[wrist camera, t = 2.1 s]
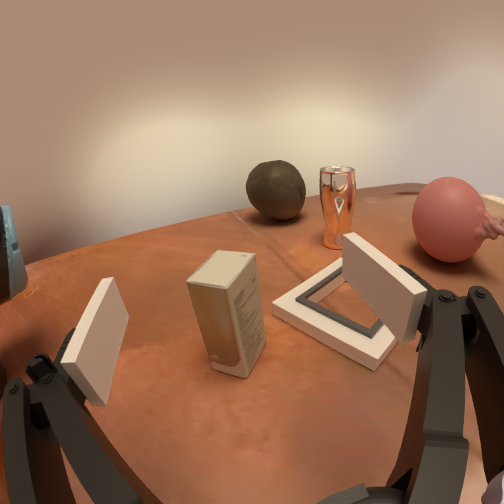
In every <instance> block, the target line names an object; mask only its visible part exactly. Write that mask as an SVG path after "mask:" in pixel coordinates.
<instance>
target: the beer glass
mask: <svg viewBox="0 0 504 504" xmlns="http://www.w3.org/2000/svg"><path fill="white" fill-rule="evenodd" d="M320 200H321V206H322V211H323V216H324V221H325V233H324V238H323V244H324V245H325V246H326V247H328V248H331V249H337V250H340V249H343V234H348V233H351V224H352V218H353V213H354V207H355V200H356V182H355V169H353V168H351V167H343V166H330V167H323V168H320Z"/></svg>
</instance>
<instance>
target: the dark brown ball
mask: <svg viewBox="0 0 504 504" xmlns="http://www.w3.org/2000/svg"><path fill="white" fill-rule="evenodd" d="M246 191H247V195H248V198H249V200H250V202H251V203H252V205H253V206H254V207H255V208H256V209H257V210H258V211H259V212H261V213H262V214H264V215H265V216H267V217H270V218H273V219H278V220H287V219H290V218H292V217H294V216H295V215H297V214H298V213H299V212H300V211H301V209H302V207H303V204H304V201H305V195H306V188H305V184H304V181H303V179H302V177H301V175H300V173H299V172H298V170H297V169H296V168H295V167H294V166H293V165H291V164H290V163H288V162H285V161H282V160H277V161H270V162H264V163H261V164H259V165H257V166H256V167H255V168H254V169H253V170H252V171H251V172H250V174H249V176H248V180H247V182H246Z"/></svg>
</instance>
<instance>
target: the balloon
mask: <svg viewBox="0 0 504 504" xmlns="http://www.w3.org/2000/svg"><path fill="white" fill-rule="evenodd" d="M412 222H413V228H414V232H415V235H416V238H417V240H418V242H419V243H420V245H421V246H422V248H423V249H424V250H425V251H426V252H427V253H428V254H429V255H431V256H432V257H434V258H435V259H437V260H440V261H443V262H449V263H454V262H460V261H463V260H465V259H467V258H469V257H471V256H472V255H473V254H474V253H475V252H476V251H477V250H478V249H479V248H480V246H481V244H482V243H483V241H484V240H485V239H487V238H490V239H492V240H495V239H497V237H498V236H499V235H502V236H504V227H503V225H502V219H501V218H500V217H492V216H491V215H490V214H489V212H488V211H487V210H486V208H485V205H484V202H483V200H482V198H481V197H480V195H479V194H478V192H477V191H476V190H475V189H474V188H473V187H472V186H471V185H470V184H468V183H466V182H465V181H463V180H461V179H458V178H453V177H443V178H439V179H436V180H434V181H432V182H430V183H429V184H427V185H426V186H425V187H424V188H423V189H422V190H421V192H420V193H419V195H418V197H417V199H416V201H415V204H414V208H413V214H412Z"/></svg>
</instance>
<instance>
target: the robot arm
mask: <svg viewBox="0 0 504 504" xmlns="http://www.w3.org/2000/svg"><path fill="white" fill-rule="evenodd" d="M342 277H343V278H344V279H345V280H346V281H347V282H348V283H349V285H350V286H351V287H352V288H353V289H354V290H355V291H356V292H357V293H358V295H359V296H360V297H361V298H362V299H363V300H364V301H365V303H366V304H367V305H368V306H369V307H370V308H371V309H372V311H373V312H374V313H375V314H376V315H377V316H378V318H379V319H380V320H381V321H382V322H383V323H384V325H385V326H386V327H387V328H388V329H389V330H390V332H391V333H392V334H393V335H394V336H395V338H396V339H397V340H398V341H399V342H400V344H401V345H402V344H405V343H407V342H409V341H412V340H414V338H415V335H416V331H417V330H418V331H419V332H420V333H421V334H422V335H421V338H420V341H419V344H418V347H417V350H416V352H418V351H419V353H418V362H417V370H416V377H415V384H414V390H413V395H412V401H411V406H410V411H409V416H408V420H407V425H406V429H405V433H404V437H403V441H402V445H401V448H400V452H399V455H398V459H397V462H396V465H395V467H394V469H393V471H392V473H391V475H390V477H389V479H388V481H387V483H386V486H385V487H368V488H365V486H364V484H360V485H358V486H355V487H353V488H350V489H347V490H345V491H342V492H339V493H336V494H333V495H331V496H329V497H327V498H325V499H324V500H322V501H320V502H318V503H317V504H459V500H460V496H461V491H462V487H463V482H464V477H465V471H466V465H467V459H468V451H469V442H468V439H465V438H463V424H464V409H465V372H466V376H467V379H468V383H469V387H470V391H471V395H472V399H473V404H474V408H475V413H476V418H477V424H478V429H479V435H480V442H481V450H482V458H483V465H484V472H485V476H486V480H487V483H488V486H487V489H486V492H485V493H484V494H483V495H482V497H481V502H482V504H504V315H503V313H502V311H501V310H500V308H499V306H498V304H497V303H496V301H495V300H494V298H493V296H492V295H491V293H490V292H489V291H488V290H487V289H485V288H484V287H482V286H472V287H471V288H469V291H468V295H467V296H463V297H457V296H456V295H455V294H454V293H453V292H451V291H448V290H436V289H434V288H433V287H432V286H431V285H429V284H428V283H427V282H426V281H425V280H423V279H422V278H420V276H418V275H417V274H415V273H414V272H413V271H412V270H411V269H409V268H407V267H405V266H402V265H396V264H395V263H394V262H393V261H391V260H390V259H389V258H388V257H386V256H385V255H384V254H382V253H381V252H380V251H378V250H377V249H376V248H375V247H373V246H372V245H371V244H369V243H368V242H367V241H365V240H364V239H362V238H361V237H360V236H358V235H357V234H356V233H348V234H343V254H342ZM27 284H28V276H27V272H26V269H25V266H24V262H23V259H22V255H21V251H20V248H19V243H18V239H17V235H16V230H15V226H14V221H13V217H12V211H11V207H10V206H9V205H5V206H3V205H2V206H0V305H2V304H3V303H5V302H7V301H10V300H11V299H12V298H13V297H14V296H16V295H17V294H19V293H20V292H22V291H23V290H24V289H25V288H26V287H27ZM128 319H129V315H128V312H127V310H126V308H125V305H124V303H123V300H122V298H121V295H120V293H119V290H118V288H117V285H116V282H115V280H114V277H111V278H105V279H102V280H101V282H100V284H99V285H98V287H97V289H96V291H95V293H94V294H93V296H92V298H91V300H90V302H89V304H88V306H87V308H86V309H85V311H84V313H83V315H82V317H81V319H80V321H79V323H78V325H77V327H76V328H73V329H72V330H71V331H70V332H69V333H68V334H67V335H66V337H65V339H64V341H63V344H62V346H61V348H60V350H59V352H58V354H57V356H56V358H55V361H54V363H52V361H51V360H50V358H49V357H48V355H47V354H45V353H39V354H36V355H34V356H33V357H32V358H30V359H29V361H28V362H27V364H26V366H25V371H26V373H27V374H28V375H29V377H30V378H31V379H32V381H33V382H34V383H32V384H29V385H25V383H24V382H23V381H22V380H21V379H20V378H14V379H12V380H10V381H9V382H8V383H7V384H6V386H5V382H6V372H5V368H4V366H3V365H2V363H1V362H0V397H1V395H2V393H3V411H2V436H3V455H4V466H5V475H6V482H7V489H8V494H9V500H10V504H76V502H75V499H74V496H73V493H72V490H71V487H70V483H69V480H68V477H67V473H66V469H65V466H64V462H63V458H62V454H61V449H60V446H61V448H62V450H63V452H64V454H65V456H66V457H67V459H68V461H69V463H70V465H71V467H72V468H73V470H74V472H75V474H76V475H77V477H78V479H79V480H80V482H81V484H82V485H83V487H84V489H85V490H86V492H87V493H88V495H89V496H90V498H91V499H92V501H93V502H94V504H163V503H162V502H161V501H160V500H159V499H158V498H157V497H156V496H155V495H154V494H153V493H152V492H151V491H150V490H149V489H148V488H147V487H146V486H145V484H144V483H143V482H142V481H141V480H140V479H139V478H138V477H137V475H136V474H135V473H134V472H133V471H132V470H131V468H130V467H129V466H128V465H127V463H126V462H125V461H124V460H123V458H122V457H121V456H120V455H119V453H118V452H117V451H116V449H115V448H114V447H113V445H112V444H111V443H110V441H109V440H108V439H107V437H106V436H105V434H104V433H103V431H102V430H101V428H100V427H99V425H98V424H97V422H96V421H95V419H94V418H93V416H92V415H91V413H90V412H89V410H88V408H87V407H86V406H85V405H84V403H85V400H86V398H87V400H88V401H89V402H90V403H91V405H92V406H107V402H108V397H109V392H110V388H111V383H112V379H113V375H114V371H115V367H116V363H117V359H118V355H119V351H120V347H121V344H122V340H123V337H124V333H125V330H126V326H127V323H128ZM4 387H5V388H4ZM3 390H4V392H3ZM59 444H60V445H59Z"/></svg>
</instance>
